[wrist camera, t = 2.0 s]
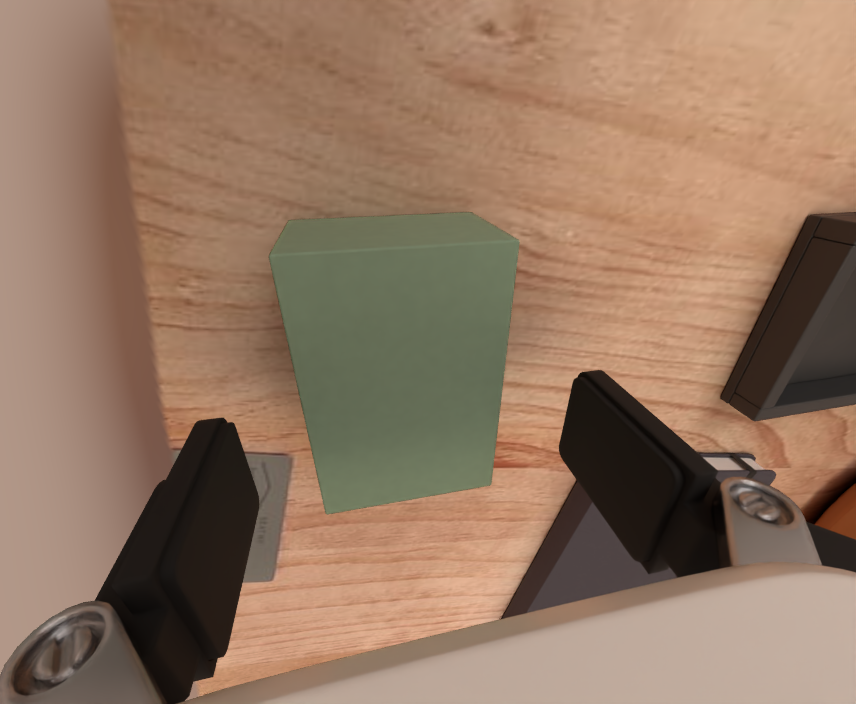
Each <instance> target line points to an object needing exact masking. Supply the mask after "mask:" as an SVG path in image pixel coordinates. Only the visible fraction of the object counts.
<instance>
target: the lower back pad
mask: <svg viewBox="0 0 856 704" xmlns="http://www.w3.org/2000/svg"><path fill="white" fill-rule="evenodd" d="M518 251H519V240H518V239H516V238H515V237H513V236H511V235H510V234H508V233H506V232H504V231H503V230H501V229H499V228H498V227H496V226H494V225H493V224H491V223H489V222H487V221H486V220H484V219H482V218H481V217H479V216H477V215H475V214H474V213H472V212H460V213H438V214H415V215H392V216H370V217H347V218H324V219H302V220H289V221H288V222H287V224H286V226H285V228H284V230H283V231H282V233H281V235H280V237H279V238H278V240H277V242H276V244H275V245H274V247H273V249H272V251H271V252H270V254H269V261H270V265H271V270H272V274H273V279H274V283H275V288H276V292H277V297H278V301H279V306H280V310H281V315H282V319H283V324H284V328H285V333H286V337H287V342H288V346H289V351H290V355H291V360H292V364H293V369H294V373H295V378H296V382H297V387H298V391H299V396H300V400H301V405H302V409H303V414H304V418H305V423H306V427H307V432H308V436H309V441H310V445H311V450H312V454H313V459H314V463H315V468H316V472H317V477H318V481H319V486H320V490H321V495H322V499H323V504H324V508H325V513H326V514H333V513H338V512H344V511H350V510H355V509H361V508H366V507H372V506H378V505H383V504H389V503H395V502H400V501H406V500H411V499H417V498H423V497H428V496H434V495H439V494H445V493H451V492H456V491H462V490H467V489H473V488H479V487H484V486H490V485H491V482H492V473H493V465H494V456H495V448H496V439H497V430H498V422H499V413H500V405H501V396H502V388H503V379H504V371H505V362H506V353H507V345H508V336H509V328H510V319H511V311H512V302H513V294H514V285H515V276H516V268H517V259H518Z"/></svg>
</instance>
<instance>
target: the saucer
mask: <svg viewBox="0 0 856 704" xmlns="http://www.w3.org/2000/svg"><path fill="white" fill-rule="evenodd" d="M815 525H817V526H820V527H822V528H825V529H828V530H831V531H833V532H836V533H839V534H842V535H844V536H847V537H850V538H853V539H855V540H856V483H855V484H854V485H853V486H851V487H850V488H849V489H848V490H847V491H845V492H844V493H843V494H842V495H841V496H840V497H839V498H838V499H837V500H836V501H835V502H834V503H833V504H832V505H831V506H830V507H829V508H828V509H827V510H826V511H825V512H824V513H823V515H822V516H821V517H820V518H819V519H818V520H817V522H816V523H815Z"/></svg>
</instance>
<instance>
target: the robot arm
mask: <svg viewBox="0 0 856 704" xmlns="http://www.w3.org/2000/svg"><path fill="white" fill-rule="evenodd" d="M559 452H560V455H561V458H562V459H563V461H564V462H565V464H566V465H567V466H568V468H569V469H570V471H571V472H572V474H573V475H574V476H575V478H576V479H577V481H578V482H579V483H580V485H581V486H582V488H583V489H584V491H585V492H586V493H587V495H588V496H589V498H590V499H591V501H592V502H593V503H594V505H595V506H596V508H597V509H598V511H599V512H600V513H601V515H602V516H603V518H604V519H605V520H606V522H607V523H608V525H609V526H610V528H611V529H612V530H613V532H614V533H615V535H616V536H617V538H618V539H619V540H620V542H621V543H622V545H623V546H624V548H625V549H626V550H627V552H628V553H629V555H630V556H631V557H632V558H633V559H634V560H635V561H637V562H640V563H641V564H642V566H643V567H644V569H645V570H646V571H647V573H648V574H652V573H657V572H661V571H665V570H668V568H669V567H670V568H671V570H672V571H673V572H674V573H675V575H676V578H674V579H670V580H665V581H661V582H657V583H652V584H648V585H644V586H639V587H635V588H631V589H627V590H622V591H618V592H614V593H610V594H605V595H601V596H597V597H592V598H588V599H584V600H580V601H575V602H571V603H567V604H563V605H559V606H554V607H550V608H546V609H542V610H538V611H534V612H529V613H525V614H521V615H517V616H513V617H508V618H504V619H500V620H496V621H492V622H488V623H484V624H479V625H475V626H471V627H467V628H463V629H459V630H454V631H450V632H446V633H442V634H438V635H434V636H430V637H426V638H422V639H418V640H413V641H409V642H405V643H401V644H397V645H393V646H389V647H385V648H381V649H377V650H373V651H369V652H365V653H361V654H357V655H352V656H348V657H344V658H340V659H336V660H332V661H328V662H324V663H320V664H316V665H312V666H308V667H304V668H300V669H297V670H293V671H289V672H285V673H282V674H278V675H274V676H270V677H267V678H263V679H259V680H255V681H251V682H248V683H244V684H240V685H236V686H233V687H229V688H225V689H222V690H219V691H215V692H212V693H209V694H206V695H203V696H200V697H197V698H193V699H190V700H187V701H185V700H186V699H187V698H188V697H189V695H190V692H191V688H192V684H193V681H198V680H202V679H206V678H210V677H213V675H214V671H215V667H216V663H217V659H218V658H220V657H224V655H225V654H226V652H227V649H228V645H229V641H230V636H231V632H232V627H233V623H234V618H235V614H236V609H237V605H238V600H239V596H240V591H241V587H242V582H243V578H244V574H245V569H246V565H247V560H248V556H249V551H250V547H251V542H252V538H253V533H254V529H255V524H256V520H257V515H258V511H259V496H258V492H257V489H256V486H255V483H254V480H253V477H252V474H251V471H250V468H249V465H248V462H247V459H246V456H245V453H244V451H243V448H242V445H241V442H240V439H239V436H238V433H237V430H236V427H235V424H234V423H232V422H230V423H227V421H226V420H225V419H224V418H215V419H207V420H199V421H197V422H196V423H195V425H194V427H193V429H192V431H191V432H190V434H189V436H188V438H187V440H186V442H185V444H184V446H183V448H182V450H181V452H180V454H179V456H178V458H177V459H176V461H175V463H174V465H173V467H172V469H171V471H170V473H169V475H168V477H167V479H166V480H163V481H162V482H160V483H159V484H158V485H157V487H156V488H155V489H154V491H153V493H152V495H151V497H150V499H149V501H148V503H147V504H146V506H145V508H144V510H143V512H142V514H141V515H140V517H139V519H138V521H137V523H136V525H135V527H134V529H133V530H132V532H131V534H130V536H129V538H128V540H127V542H126V544H125V545H124V547H123V549H122V551H121V553H120V555H119V556H118V558H117V560H116V562H115V564H114V566H113V568H112V569H111V571H110V573H109V575H108V577H107V579H106V581H105V582H104V584H103V586H102V588H101V590H100V592H99V594H98V596H97V597H96V599H95V601H90V602H83V603H80V604H78V605H75V606H72V607H69V608H67V609H65V610H63V611H62V612H60V613H58V614H57V615H55V616H53V617H51V618H50V619H48V620H47V621H46V622H44V623H43V624H42V625H40V626H39V627H38V628H37V629H35V630H34V631H33V632H32V633H31V634H30V635H29V636H28V637H27V638H26V639H25V640H24V641H23V642H22V643H21V644H20V645H19V646H18V647H17V648H16V650H15V651H14V652H13V654H12V655H11V657H10V658H9V660H8V661H7V662H6V664H5V665H4V668H3V670H2V672H1V674H0V704H856V540H855V539H853V538H850V537H847V536H844V535H842V534H839V533H836V532H833V531H831V530H828V529H825V528H822V527H820V526H817V525H814V524H811V523H809V522H806V521H805V518H804V515H803V514H802V512H801V510H800V509H799V507H798V506H797V505H796V504H795V503H794V502H793V501H792V500H791V499H790V498H789V497H787V496H786V495H784V494H783V493H782V492H780V491H779V490H777V489H775V488H773V487H771V486H770V485H768V484H765V483H763V482H760V481H758V480H755V479H750V478H746V477H731V478H727V479H725V480H724V481H723V482H722V483H721V482H719V481H718V480H717V479H716V478H715V477H716V475H717V473H718V470H717V469H716V468H714V467H713V466H712V465H711V464H710V463H709V462H707V461H706V460H705V459H704V458H703V457H702V456H701V455H699V454H698V453H697V452H696V451H695V450H694V449H692V448H691V447H690V446H689V445H688V444H687V443H686V442H684V441H683V440H682V439H681V438H680V437H679V436H677V435H676V434H675V433H674V432H673V431H672V430H671V429H669V428H668V427H667V426H666V425H665V424H664V423H662V422H661V421H660V420H659V419H658V418H657V417H656V416H654V415H653V414H652V413H651V412H650V411H649V410H647V409H646V408H645V407H644V406H643V405H642V404H641V403H639V402H638V401H637V400H636V399H635V398H634V397H632V396H631V395H630V394H629V393H628V392H627V391H626V390H624V389H623V388H622V387H621V386H620V385H619V384H617V383H616V382H615V381H614V380H613V379H612V378H611V377H609V376H608V375H607V374H606V373H605V372H603V371H602V370H596V371H588V372H582V373H580V374H579V375H578V378H575V379H574V381H573V384H572V389H571V394H570V398H569V403H568V407H567V412H566V417H565V421H564V426H563V430H562V435H561V440H560V444H559Z"/></svg>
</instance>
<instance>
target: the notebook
mask: <svg viewBox="0 0 856 704" xmlns="http://www.w3.org/2000/svg"><path fill="white" fill-rule="evenodd" d="M698 454H699V455H701V456H702V457H703V458H704V459H705V460H706V461H707V462H709V463H710V464H711V465H712V466H713V467H714V468H716V469H717V470H718V473H717V475H716V477H715V478H716V479H717V480H718V481H719V482H721V483H722V482H723V481H724V480H725V479H727V478H731V477H746V478H750V479H755V480H758V481H760V482H763V483H765V484H768V485H770V484H771V483H772V482H773V480H774V479H775V477H776V473H775V472H774V471H772V470H765V469H764V468H762V467H761V466H760V465H759V464H757V463H756V462H755V459H756V458H755V457H754V456H753V455H751V454H735V453H727V454H725V453H698ZM674 578H676V575H675V573H674V572H673V571H672V570H671V568H670V567H669V568H668V570H665V571H661V572H657V573H652V574H648V573H647V571H646V570H645V569H644V567H643V566H642V564H641V563H640V562H637V561H635V560H634V559H633V558H632V557H631V556H630V555H629V553H628V552H627V550H626V549H625V548H624V546H623V545H622V543H621V542H620V540H619V539H618V538H617V536H616V535H615V533H614V532H613V530H612V529H611V528H610V526H609V525H608V523H607V522H606V520H605V519H604V518H603V516H602V515H601V513H600V512H599V511H598V509H597V508H596V506H595V505H594V503H593V502H592V501H591V499H590V498H589V496H588V495H587V493H586V492H585V491H584V489H583V488H582V486H581V485H580V483H579V482H578V481H577V483H576V484H575V486H574V488H573V490H572V492H571V494H570V495H569V497H568V499H567V501H566V503H565V504H564V506H563V508H562V510H561V512H560V514H559V515H558V517H557V519H556V521H555V523H554V524H553V526H552V528H551V530H550V532H549V534H548V535H547V537H546V539H545V541H544V543H543V545H542V546H541V548H540V550H539V552H538V554H537V555H536V557H535V559H534V561H533V563H532V565H531V566H530V568H529V570H528V572H527V574H526V575H525V577H524V579H523V581H522V583H521V585H520V586H519V588H518V590H517V592H516V594H515V596H514V597H513V599H512V601H511V603H510V605H509V606H508V608H507V610H506V612H505V614H504V616H503V617H502V619H504V618H508V617H513V616H517V615H521V614H525V613H529V612H534V611H538V610H542V609H546V608H550V607H554V606H559V605H563V604H567V603H571V602H575V601H580V600H584V599H588V598H592V597H597V596H601V595H605V594H610V593H614V592H618V591H622V590H627V589H631V588H635V587H639V586H644V585H648V584H652V583H657V582H661V581H665V580H670V579H674Z"/></svg>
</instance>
